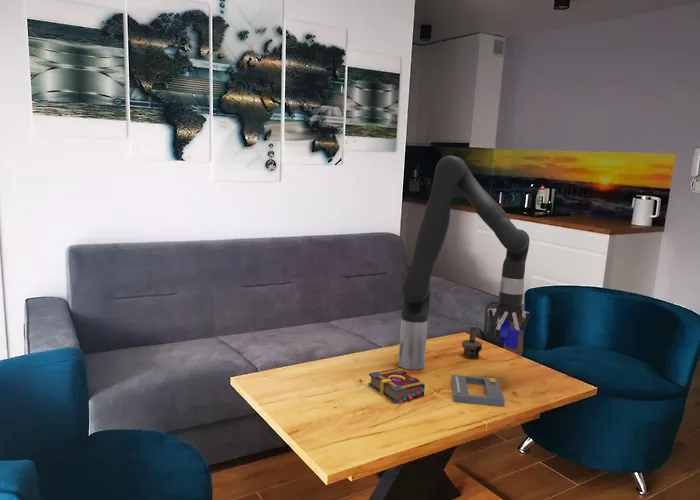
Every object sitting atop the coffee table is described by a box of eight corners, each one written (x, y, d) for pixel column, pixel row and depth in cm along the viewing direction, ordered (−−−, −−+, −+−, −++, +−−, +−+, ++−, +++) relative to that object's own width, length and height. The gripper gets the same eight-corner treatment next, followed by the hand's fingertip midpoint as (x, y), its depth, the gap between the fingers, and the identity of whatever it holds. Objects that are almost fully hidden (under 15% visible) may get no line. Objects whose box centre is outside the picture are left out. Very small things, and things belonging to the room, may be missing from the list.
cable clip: (494, 335, 189) (496, 319, 188) (507, 336, 189) (509, 320, 188) (502, 348, 177) (505, 330, 176) (516, 349, 177) (519, 331, 176)
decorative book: (396, 380, 184) (397, 366, 183) (427, 398, 170) (428, 383, 170) (368, 386, 178) (368, 371, 177) (397, 406, 164) (398, 390, 164)
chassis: (454, 401, 168) (454, 393, 168) (451, 380, 185) (451, 372, 185) (504, 406, 167) (504, 398, 166) (496, 384, 183) (497, 376, 183)
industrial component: (485, 357, 208) (488, 327, 206) (472, 361, 204) (475, 330, 202) (466, 350, 215) (468, 320, 213) (453, 353, 211) (455, 323, 209)
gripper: (490, 291, 176) (485, 342, 179) (536, 295, 175) (530, 346, 178) (487, 286, 184) (482, 335, 187) (531, 289, 182) (525, 339, 185)
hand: (505, 340), depth 182 cm, fingers closed on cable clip, 4 cm apart
